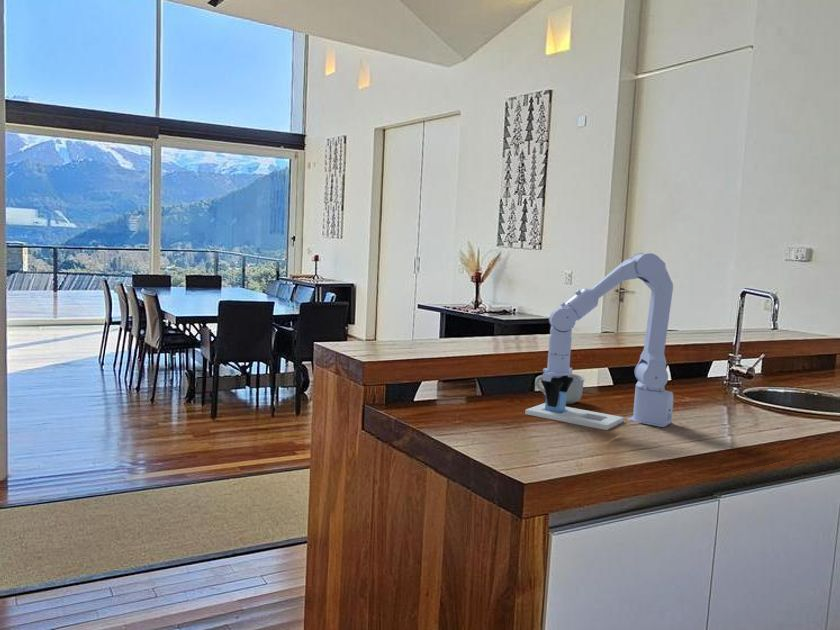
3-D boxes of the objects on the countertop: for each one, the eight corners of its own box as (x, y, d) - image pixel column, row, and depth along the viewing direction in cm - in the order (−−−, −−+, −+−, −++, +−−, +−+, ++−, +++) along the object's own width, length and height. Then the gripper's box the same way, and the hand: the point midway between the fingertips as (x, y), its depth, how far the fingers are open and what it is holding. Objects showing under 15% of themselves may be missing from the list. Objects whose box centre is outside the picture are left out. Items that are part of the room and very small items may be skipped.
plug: (565, 414, 188) (566, 392, 188) (558, 416, 185) (560, 394, 184) (551, 411, 190) (552, 389, 190) (544, 414, 187) (546, 391, 187)
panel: (623, 423, 183) (623, 417, 183) (606, 431, 174) (607, 425, 173) (544, 408, 196) (545, 402, 196) (525, 415, 186) (525, 409, 186)
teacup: (579, 400, 210) (581, 373, 209) (584, 408, 199) (586, 380, 199) (532, 396, 211) (534, 370, 211) (534, 404, 201) (536, 376, 200)
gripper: (556, 349, 194) (553, 398, 196) (533, 354, 182) (529, 406, 184) (581, 352, 190) (577, 402, 192) (558, 358, 178) (554, 411, 180)
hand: (555, 404), depth 187 cm, fingers closed on plug, 4 cm apart
